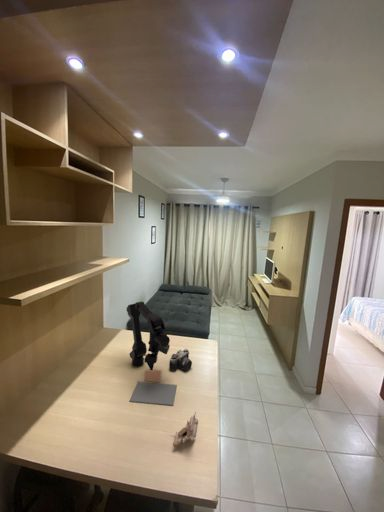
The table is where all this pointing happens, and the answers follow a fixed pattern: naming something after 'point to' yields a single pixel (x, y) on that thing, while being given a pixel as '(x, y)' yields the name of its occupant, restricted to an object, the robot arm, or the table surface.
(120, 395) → the table surface
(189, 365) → the camera
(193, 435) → the bone fragment
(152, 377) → the block
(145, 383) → the mat
